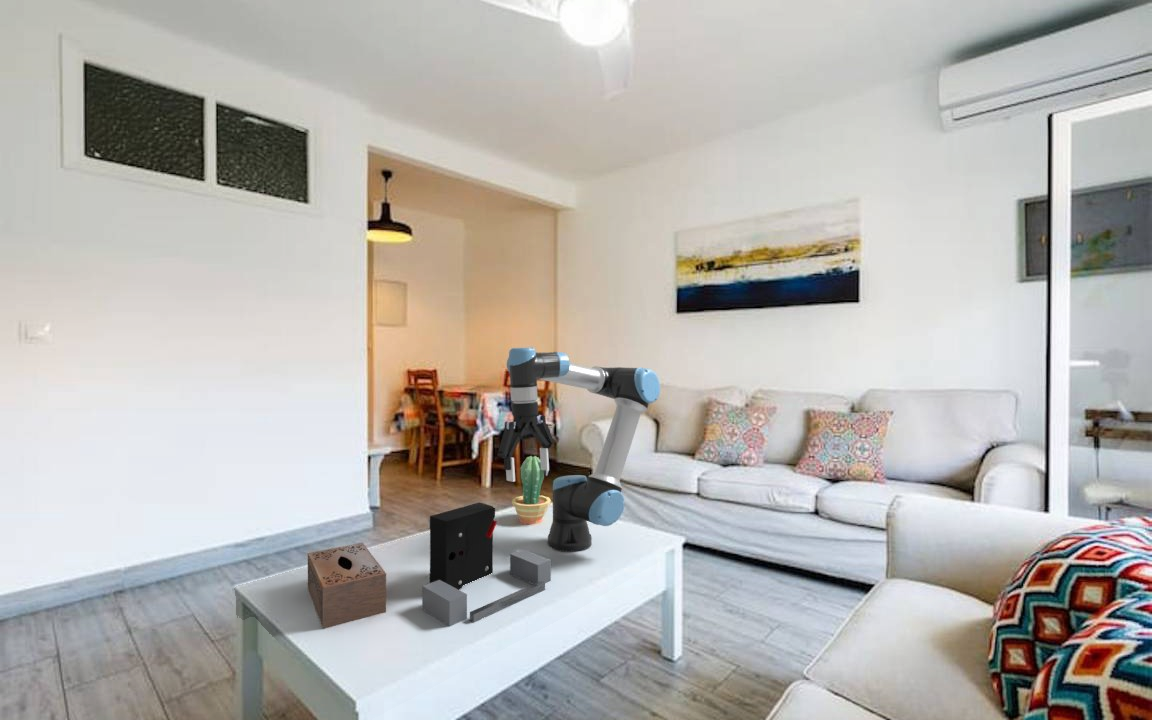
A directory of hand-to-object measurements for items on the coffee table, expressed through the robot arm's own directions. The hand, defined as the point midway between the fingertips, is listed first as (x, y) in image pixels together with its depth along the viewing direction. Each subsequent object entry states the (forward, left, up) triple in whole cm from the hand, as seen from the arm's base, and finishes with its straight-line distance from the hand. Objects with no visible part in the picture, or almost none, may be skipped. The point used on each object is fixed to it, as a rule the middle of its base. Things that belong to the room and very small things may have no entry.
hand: (528, 475), depth 149 cm
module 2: (-2, -1, -30) cm, 30 cm away
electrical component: (+13, -14, -31) cm, 36 cm away
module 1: (+27, -1, -30) cm, 41 cm away
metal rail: (+13, +7, -30) cm, 34 cm away
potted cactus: (-37, -39, -31) cm, 62 cm away
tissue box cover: (+41, -27, -31) cm, 58 cm away
